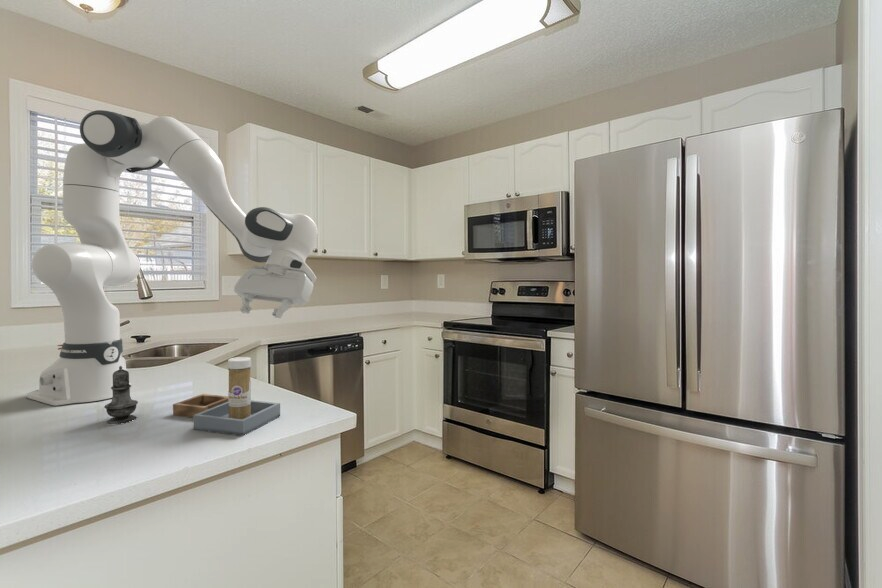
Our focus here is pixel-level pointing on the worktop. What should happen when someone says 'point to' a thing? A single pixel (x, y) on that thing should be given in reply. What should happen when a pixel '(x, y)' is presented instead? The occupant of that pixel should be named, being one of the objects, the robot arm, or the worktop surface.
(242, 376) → the sprinkles bottle
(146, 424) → the worktop surface
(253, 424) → the slate tray
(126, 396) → the salt shaker
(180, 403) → the walnut collar
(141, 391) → the worktop surface
